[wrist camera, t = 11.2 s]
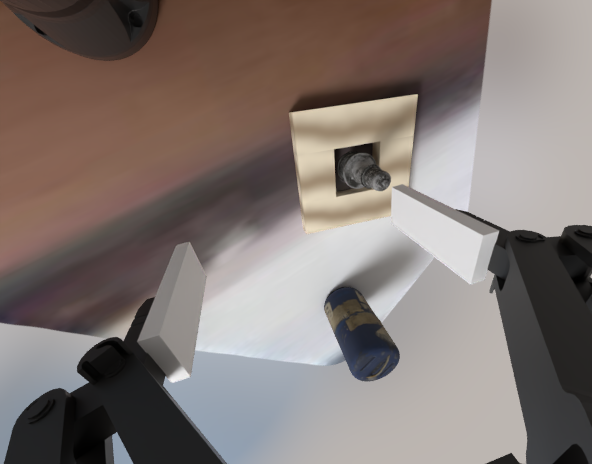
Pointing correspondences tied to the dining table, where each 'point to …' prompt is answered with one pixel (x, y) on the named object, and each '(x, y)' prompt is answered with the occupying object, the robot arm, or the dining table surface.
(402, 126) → the socket
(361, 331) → the canister
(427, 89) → the dining table surface
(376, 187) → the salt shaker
